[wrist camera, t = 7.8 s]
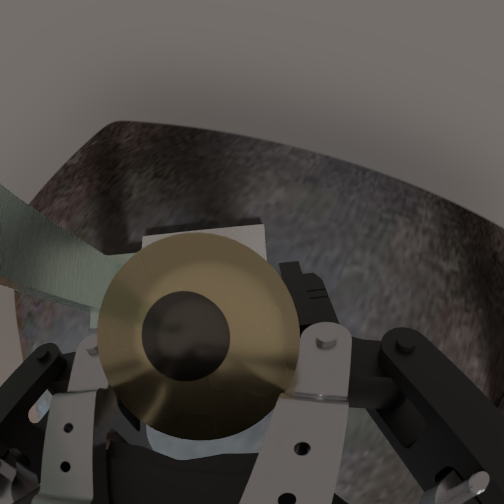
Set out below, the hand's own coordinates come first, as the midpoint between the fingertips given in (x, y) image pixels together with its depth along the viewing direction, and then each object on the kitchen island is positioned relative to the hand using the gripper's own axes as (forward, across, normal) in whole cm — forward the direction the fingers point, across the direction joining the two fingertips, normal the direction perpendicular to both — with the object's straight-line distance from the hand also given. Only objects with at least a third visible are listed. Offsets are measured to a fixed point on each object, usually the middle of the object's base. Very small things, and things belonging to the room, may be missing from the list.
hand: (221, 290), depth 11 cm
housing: (+2, 0, +4) cm, 5 cm away
